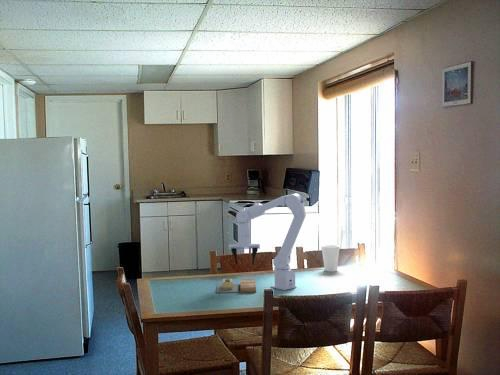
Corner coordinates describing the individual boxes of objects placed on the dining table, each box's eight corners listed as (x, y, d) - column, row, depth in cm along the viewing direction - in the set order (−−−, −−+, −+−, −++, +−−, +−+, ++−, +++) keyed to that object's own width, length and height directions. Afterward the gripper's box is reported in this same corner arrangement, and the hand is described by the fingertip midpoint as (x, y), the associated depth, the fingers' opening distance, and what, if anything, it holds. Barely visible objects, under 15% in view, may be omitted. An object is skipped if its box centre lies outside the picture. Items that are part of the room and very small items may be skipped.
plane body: (256, 292, 263) (255, 287, 263) (240, 293, 263) (240, 287, 263) (255, 283, 281) (255, 278, 281) (240, 284, 281) (240, 278, 281)
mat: (238, 292, 264) (238, 291, 264) (216, 293, 264) (216, 292, 264) (238, 284, 280) (238, 283, 280) (217, 285, 280) (217, 284, 280)
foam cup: (340, 271, 305) (340, 247, 304) (323, 272, 305) (322, 247, 304) (338, 268, 314) (338, 244, 314) (321, 268, 315) (320, 244, 314)
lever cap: (232, 289, 269) (232, 280, 268) (222, 289, 268) (222, 280, 268) (232, 285, 276) (232, 277, 275) (222, 286, 275) (222, 277, 275)
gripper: (259, 233, 281) (259, 262, 281) (228, 234, 280) (229, 262, 281) (259, 235, 273) (260, 264, 274) (228, 236, 273) (229, 265, 274)
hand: (244, 264), depth 277 cm, fingers open, 7 cm apart
